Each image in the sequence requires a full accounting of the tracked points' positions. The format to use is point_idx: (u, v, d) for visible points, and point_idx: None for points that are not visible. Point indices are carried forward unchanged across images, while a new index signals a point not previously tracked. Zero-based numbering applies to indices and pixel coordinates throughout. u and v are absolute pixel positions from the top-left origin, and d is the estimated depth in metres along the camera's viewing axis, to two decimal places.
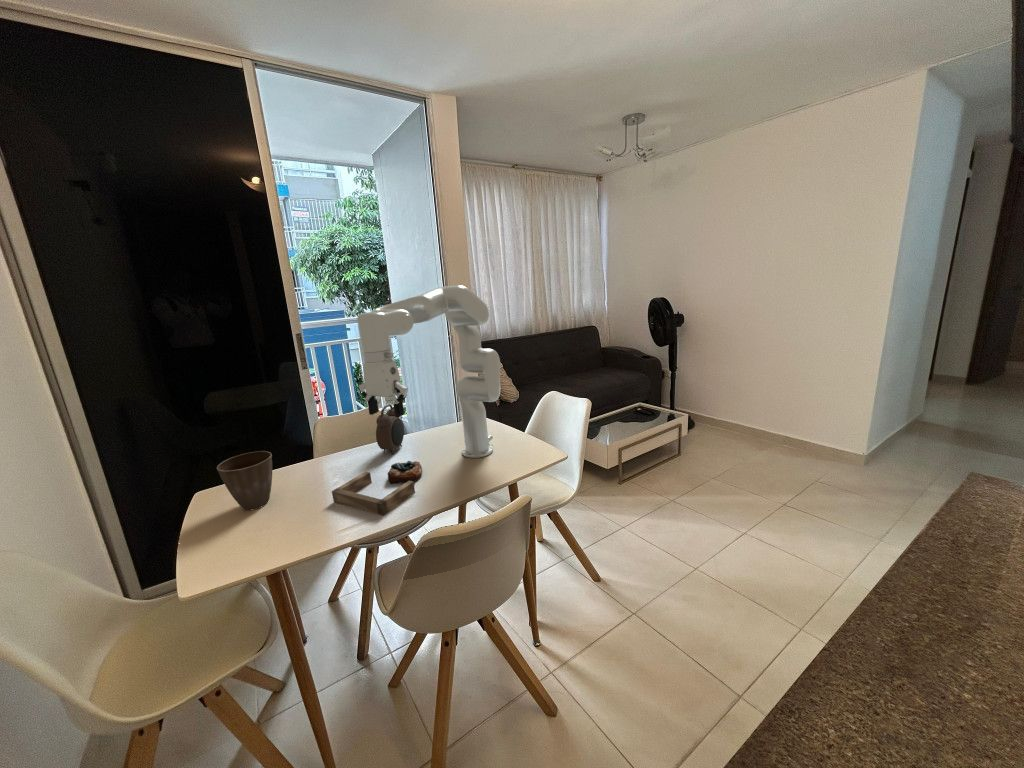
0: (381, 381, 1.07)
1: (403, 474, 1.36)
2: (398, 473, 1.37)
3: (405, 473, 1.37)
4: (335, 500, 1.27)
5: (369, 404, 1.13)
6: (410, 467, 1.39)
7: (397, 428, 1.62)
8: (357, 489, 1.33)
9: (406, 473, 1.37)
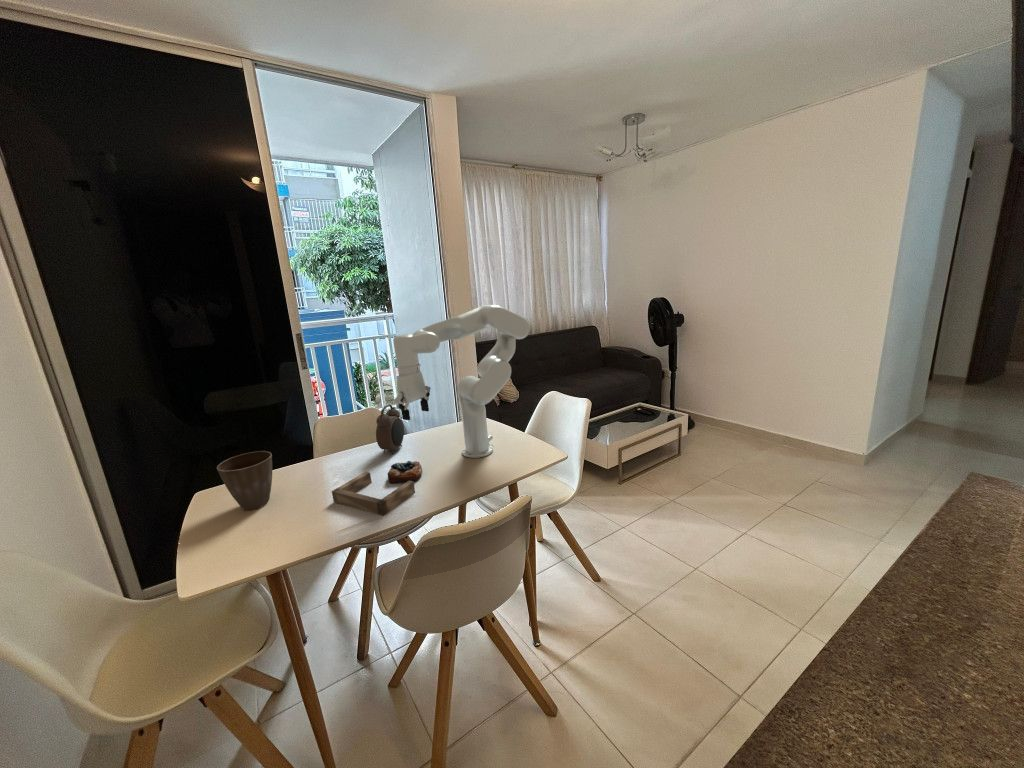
0: (421, 385, 1.40)
1: (403, 474, 1.36)
2: (398, 473, 1.37)
3: (405, 473, 1.37)
4: (335, 500, 1.27)
5: (408, 411, 1.36)
6: (410, 467, 1.39)
7: (397, 428, 1.62)
8: (357, 489, 1.33)
9: (406, 473, 1.37)
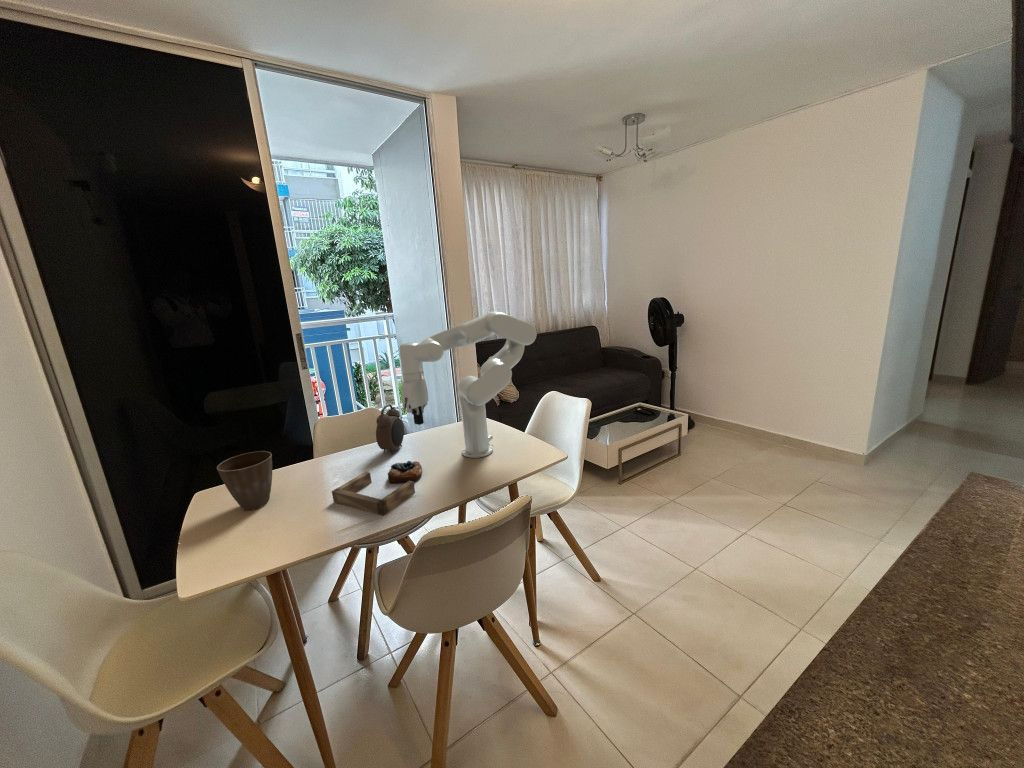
0: (424, 392, 1.45)
1: (403, 474, 1.36)
2: (398, 473, 1.37)
3: (405, 473, 1.37)
4: (335, 500, 1.27)
5: (420, 416, 1.45)
6: (410, 467, 1.39)
7: (397, 428, 1.62)
8: (357, 489, 1.33)
9: (406, 473, 1.37)
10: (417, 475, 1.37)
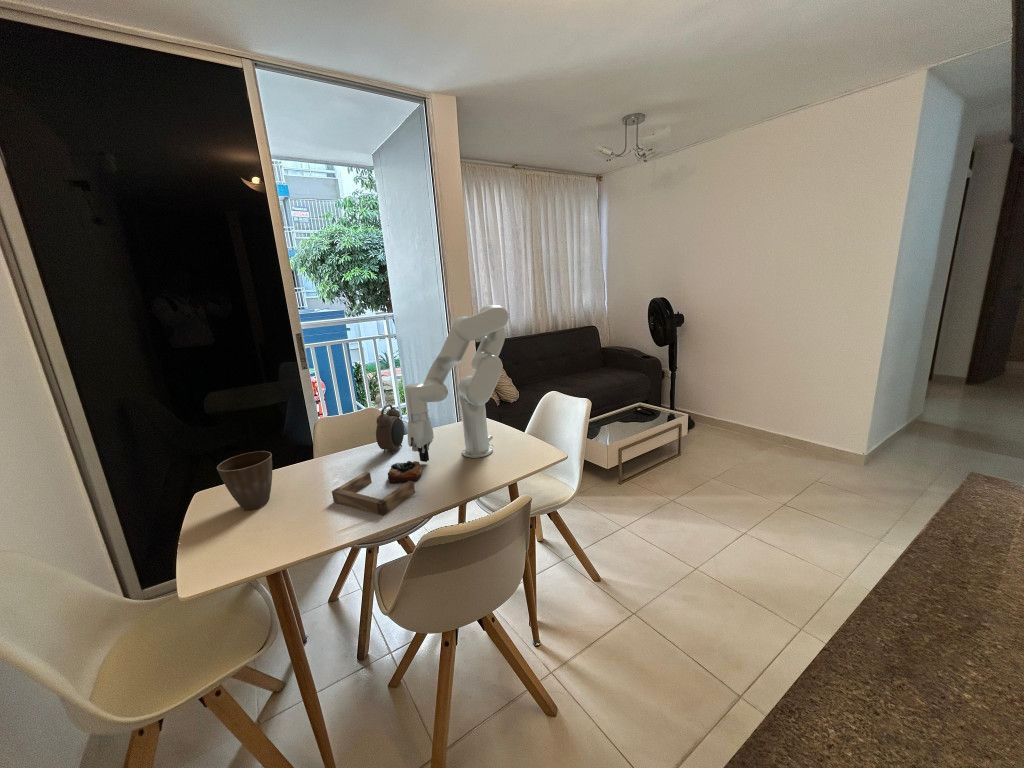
0: (429, 430, 1.49)
1: (403, 474, 1.36)
2: (398, 473, 1.37)
3: (405, 473, 1.37)
4: (335, 500, 1.27)
5: (426, 453, 1.49)
6: (410, 467, 1.39)
7: (397, 428, 1.62)
8: (357, 489, 1.33)
9: (406, 473, 1.37)
10: (417, 475, 1.37)
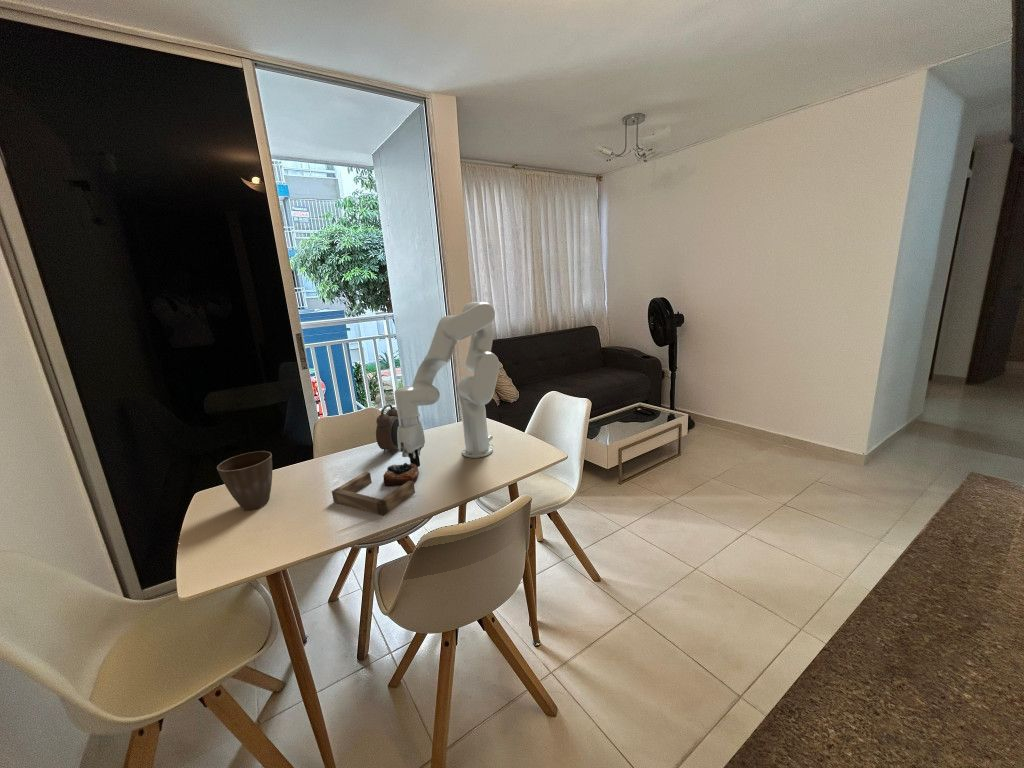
0: (420, 435, 1.44)
1: (399, 476, 1.35)
2: (394, 475, 1.35)
3: (401, 475, 1.35)
4: (335, 500, 1.27)
5: (417, 459, 1.44)
6: (406, 469, 1.37)
7: (397, 428, 1.62)
8: (357, 489, 1.33)
9: (402, 475, 1.35)
10: (412, 478, 1.35)
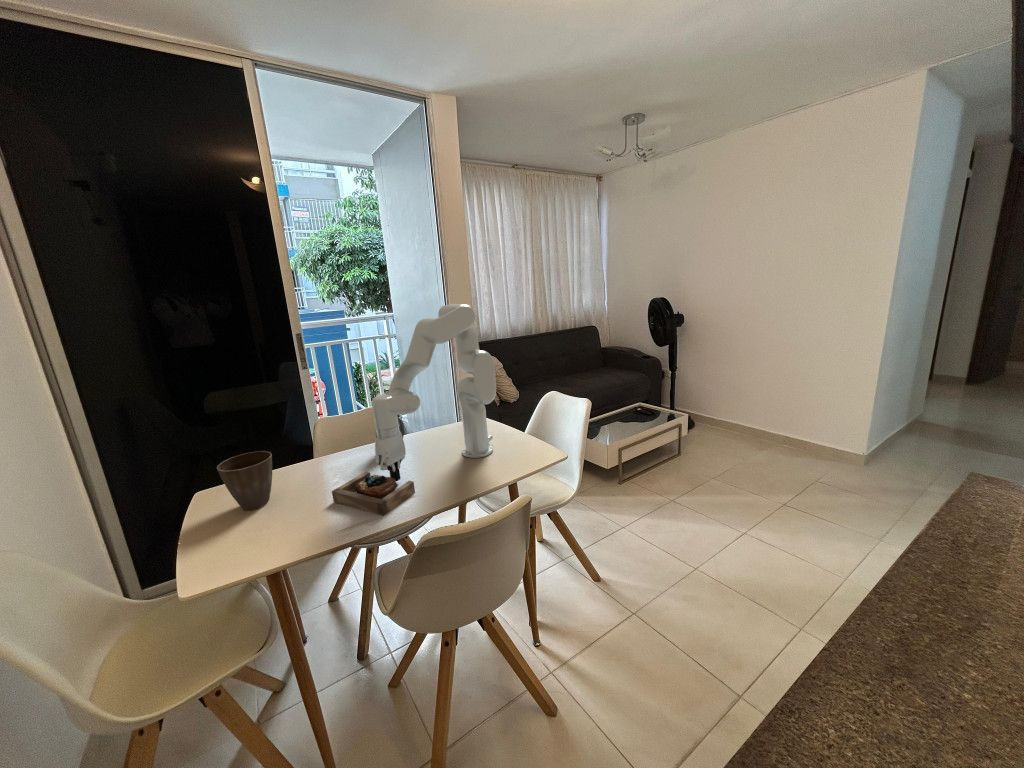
0: (400, 446, 1.35)
1: (367, 490, 1.27)
2: (364, 487, 1.28)
3: (369, 489, 1.27)
4: (335, 500, 1.27)
5: (397, 472, 1.35)
6: (377, 483, 1.28)
7: None
8: None
9: (370, 489, 1.27)
10: (379, 494, 1.26)
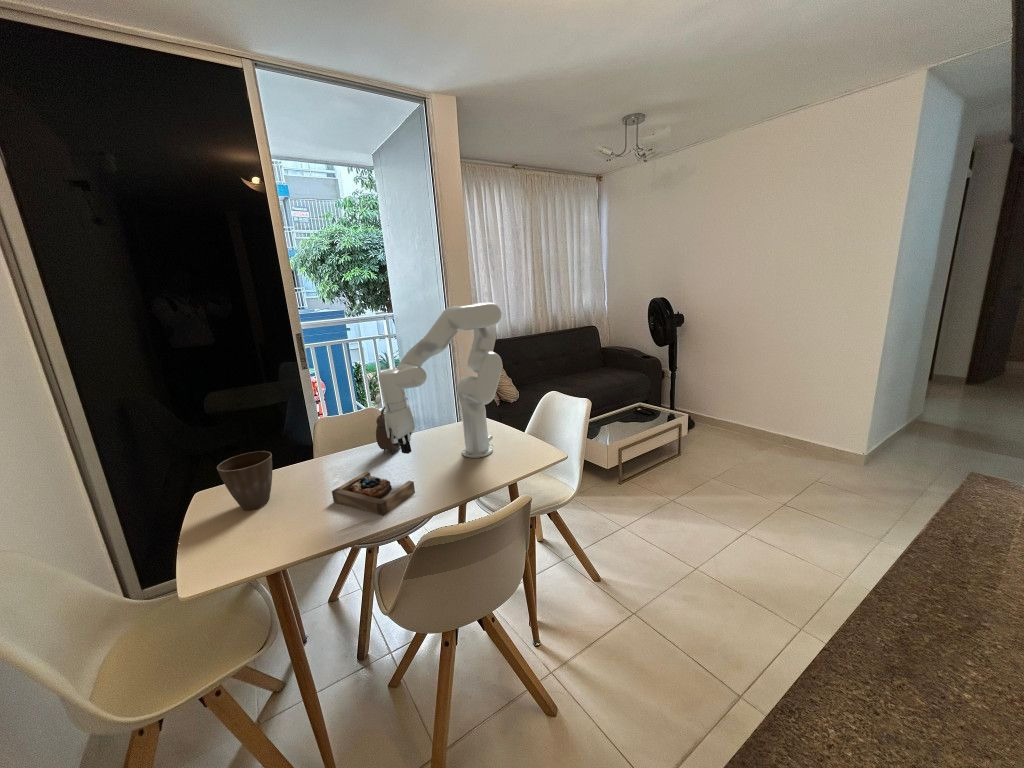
0: (409, 420, 1.38)
1: (360, 491, 1.26)
2: (357, 489, 1.28)
3: (362, 491, 1.26)
4: (335, 500, 1.27)
5: (407, 445, 1.38)
6: (371, 485, 1.28)
7: None
8: None
9: (362, 491, 1.26)
10: None
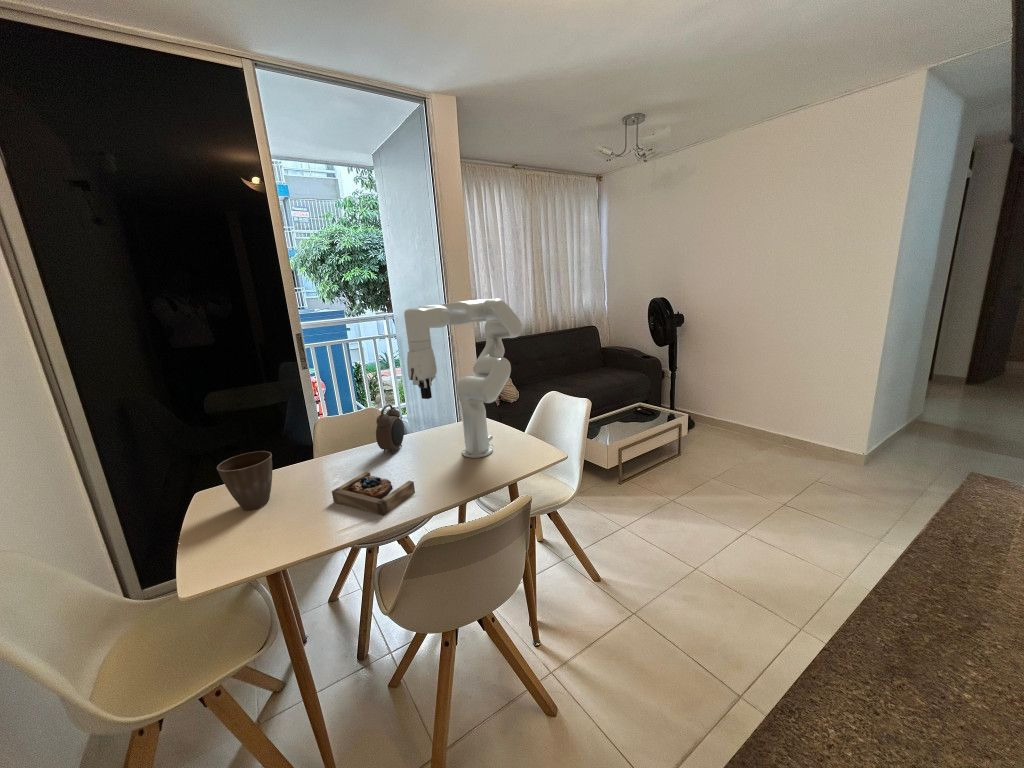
0: (432, 363, 1.32)
1: (361, 491, 1.26)
2: (358, 489, 1.28)
3: (363, 491, 1.26)
4: (335, 500, 1.27)
5: (428, 389, 1.33)
6: (372, 485, 1.28)
7: (397, 428, 1.62)
8: None
9: (363, 491, 1.26)
10: (373, 496, 1.25)
